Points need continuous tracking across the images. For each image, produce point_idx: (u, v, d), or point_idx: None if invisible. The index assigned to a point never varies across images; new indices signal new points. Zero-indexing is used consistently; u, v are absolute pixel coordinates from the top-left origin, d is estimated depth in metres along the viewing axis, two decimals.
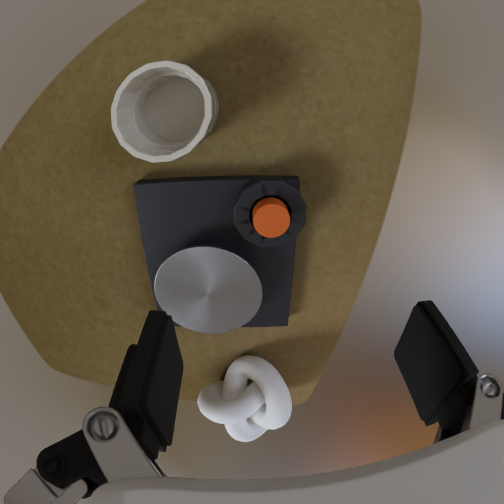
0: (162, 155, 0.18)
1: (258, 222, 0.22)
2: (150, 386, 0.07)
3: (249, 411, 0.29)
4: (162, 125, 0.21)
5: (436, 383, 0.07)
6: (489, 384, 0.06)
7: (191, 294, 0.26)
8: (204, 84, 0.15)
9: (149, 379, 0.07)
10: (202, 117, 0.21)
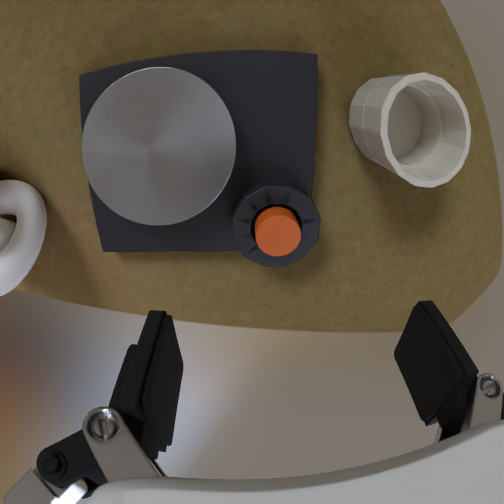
0: (386, 122, 0.13)
1: (277, 222, 0.17)
2: (150, 386, 0.07)
3: None
4: None
5: (436, 383, 0.07)
6: (489, 384, 0.06)
7: (151, 125, 0.15)
8: (443, 183, 0.14)
9: (149, 379, 0.07)
10: None
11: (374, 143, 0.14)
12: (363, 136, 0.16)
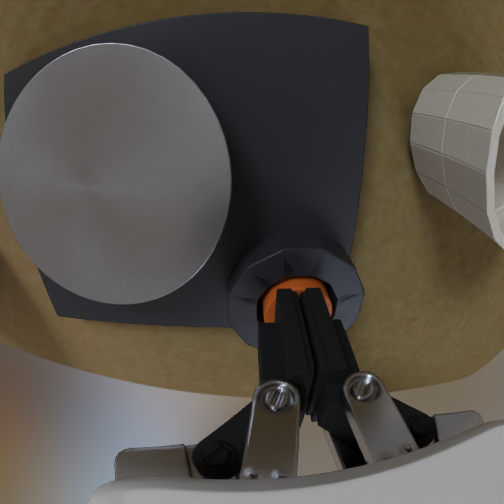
0: (494, 155, 0.06)
1: (298, 297, 0.11)
2: (310, 352, 0.08)
3: None
4: None
5: None
6: (361, 384, 0.07)
7: (83, 147, 0.08)
8: None
9: (307, 346, 0.08)
10: None
11: (464, 184, 0.08)
12: (440, 166, 0.09)
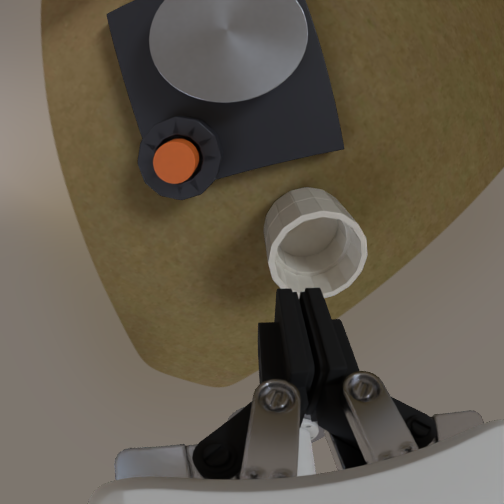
0: None
1: (187, 156, 0.17)
2: (311, 352, 0.08)
3: None
4: None
5: None
6: (360, 384, 0.07)
7: (250, 26, 0.13)
8: (281, 287, 0.20)
9: (307, 346, 0.08)
10: None
11: (287, 215, 0.19)
12: (287, 205, 0.20)
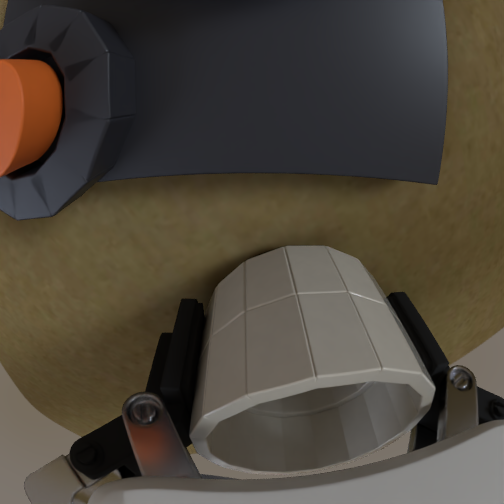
0: None
1: (8, 104, 0.03)
2: (190, 369, 0.07)
3: None
4: None
5: None
6: (460, 376, 0.06)
7: None
8: (214, 462, 0.07)
9: (189, 363, 0.07)
10: None
11: (270, 341, 0.06)
12: (273, 294, 0.07)
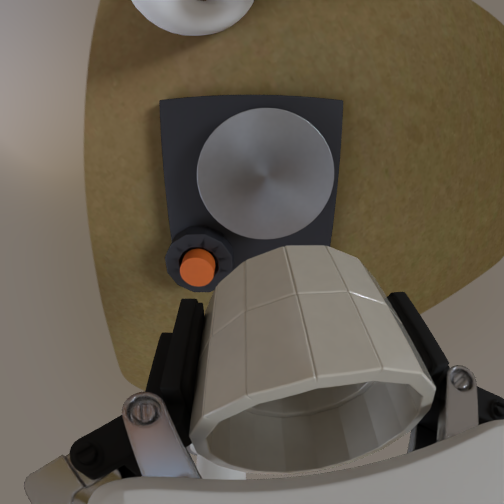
0: None
1: (208, 271, 0.23)
2: (190, 369, 0.07)
3: None
4: None
5: None
6: (460, 376, 0.06)
7: (286, 178, 0.20)
8: (214, 462, 0.07)
9: (188, 363, 0.07)
10: None
11: (270, 341, 0.06)
12: (273, 294, 0.07)
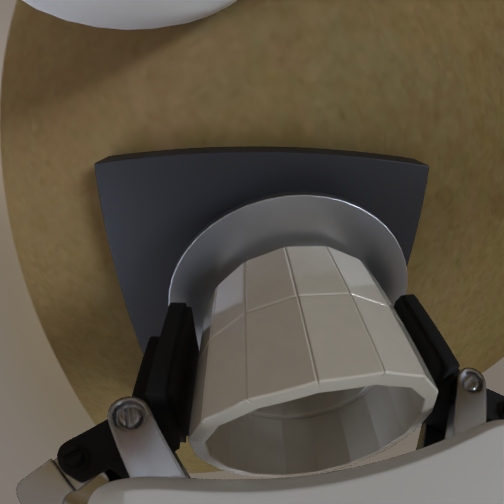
0: None
1: None
2: (176, 374, 0.07)
3: None
4: None
5: None
6: (471, 378, 0.06)
7: None
8: (213, 465, 0.07)
9: (174, 368, 0.07)
10: None
11: (270, 344, 0.06)
12: (274, 296, 0.07)
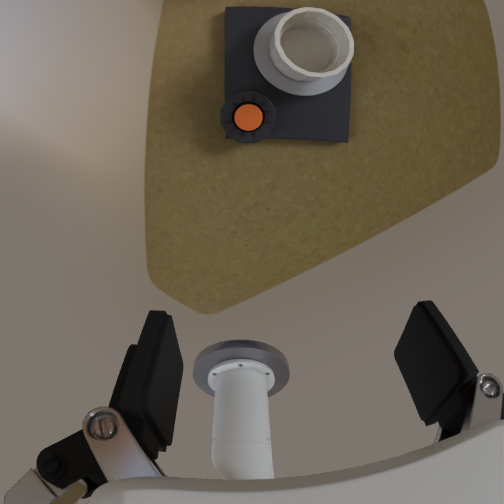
0: (314, 11, 0.17)
1: (258, 116, 0.26)
2: (150, 386, 0.07)
3: None
4: (315, 41, 0.22)
5: (436, 383, 0.07)
6: (489, 384, 0.06)
7: None
8: (279, 53, 0.19)
9: (149, 379, 0.07)
10: (282, 41, 0.22)
11: None
12: None
